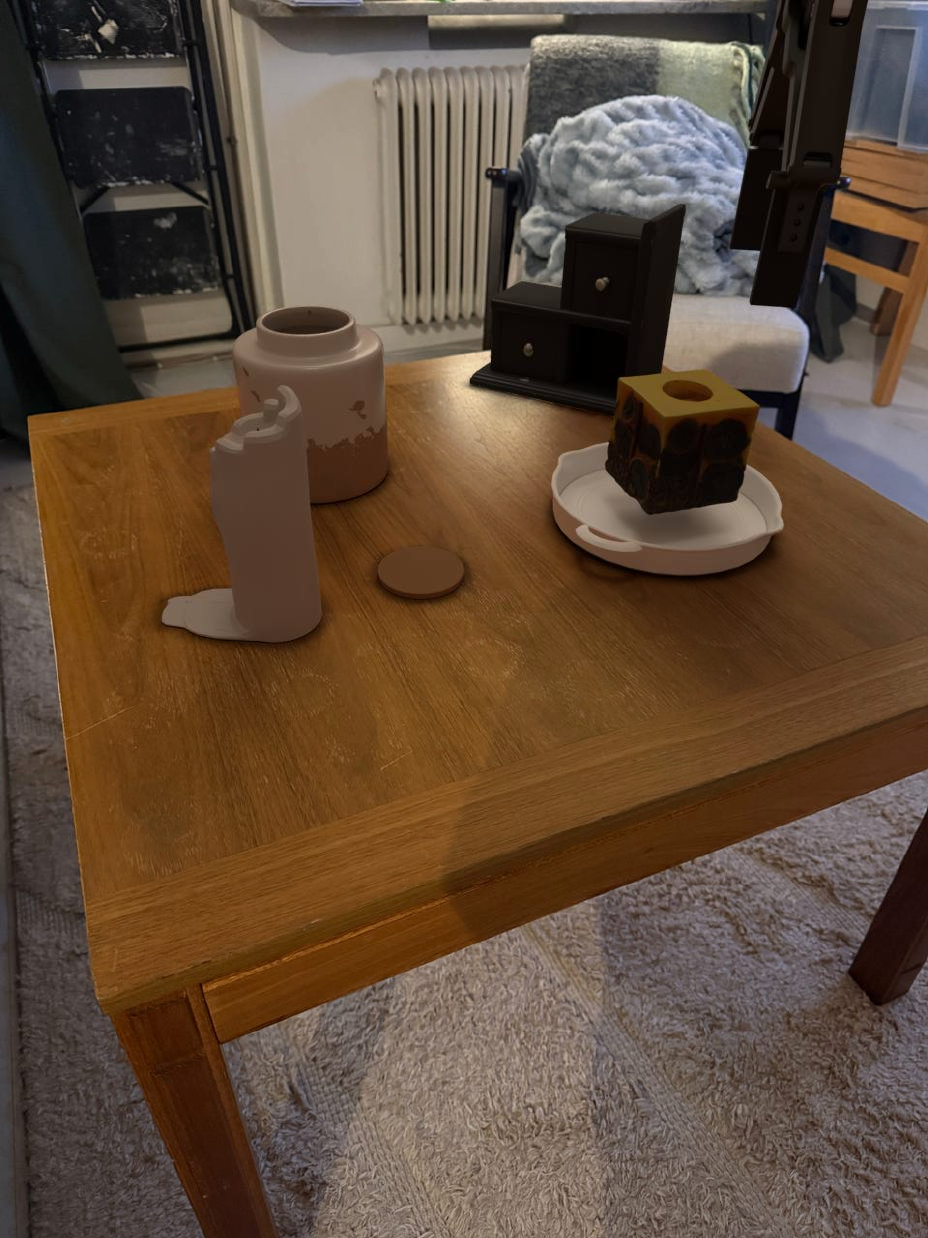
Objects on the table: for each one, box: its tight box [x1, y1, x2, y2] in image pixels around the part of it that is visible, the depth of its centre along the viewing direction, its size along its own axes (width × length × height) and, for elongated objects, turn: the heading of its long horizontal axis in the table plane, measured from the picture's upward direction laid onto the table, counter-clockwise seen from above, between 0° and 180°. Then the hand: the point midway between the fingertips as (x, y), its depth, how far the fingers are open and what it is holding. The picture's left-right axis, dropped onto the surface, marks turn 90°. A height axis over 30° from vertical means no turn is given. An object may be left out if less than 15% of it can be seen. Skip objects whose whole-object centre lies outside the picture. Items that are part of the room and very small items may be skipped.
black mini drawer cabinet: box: [468, 203, 687, 418], centre depth 109 cm, size 23×11×24 cm, turn 60°
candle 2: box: [161, 385, 323, 643], centre depth 68 cm, size 7×14×20 cm, turn 86°
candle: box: [605, 368, 761, 515], centre depth 83 cm, size 10×10×10 cm
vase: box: [231, 304, 389, 504], centre depth 91 cm, size 15×15×17 cm
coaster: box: [377, 545, 465, 600], centre depth 80 cm, size 8×8×1 cm
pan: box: [550, 441, 785, 577], centre depth 87 cm, size 24×27×4 cm
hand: (759, 275), depth 58 cm, fingers open, 13 cm apart
